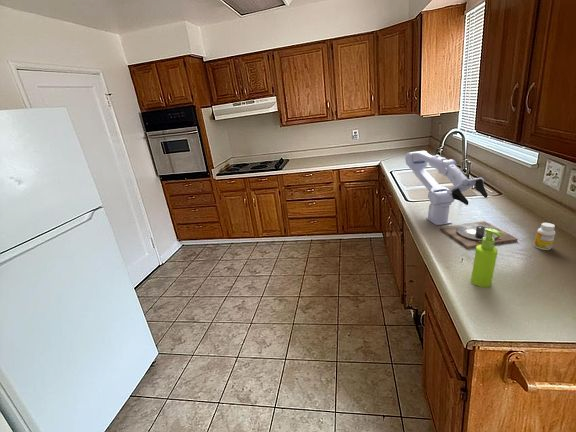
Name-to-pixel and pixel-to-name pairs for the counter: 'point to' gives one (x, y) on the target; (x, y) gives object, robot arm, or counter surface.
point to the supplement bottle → (545, 236)
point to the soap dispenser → (485, 259)
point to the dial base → (474, 243)
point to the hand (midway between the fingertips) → (477, 199)
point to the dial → (473, 231)
